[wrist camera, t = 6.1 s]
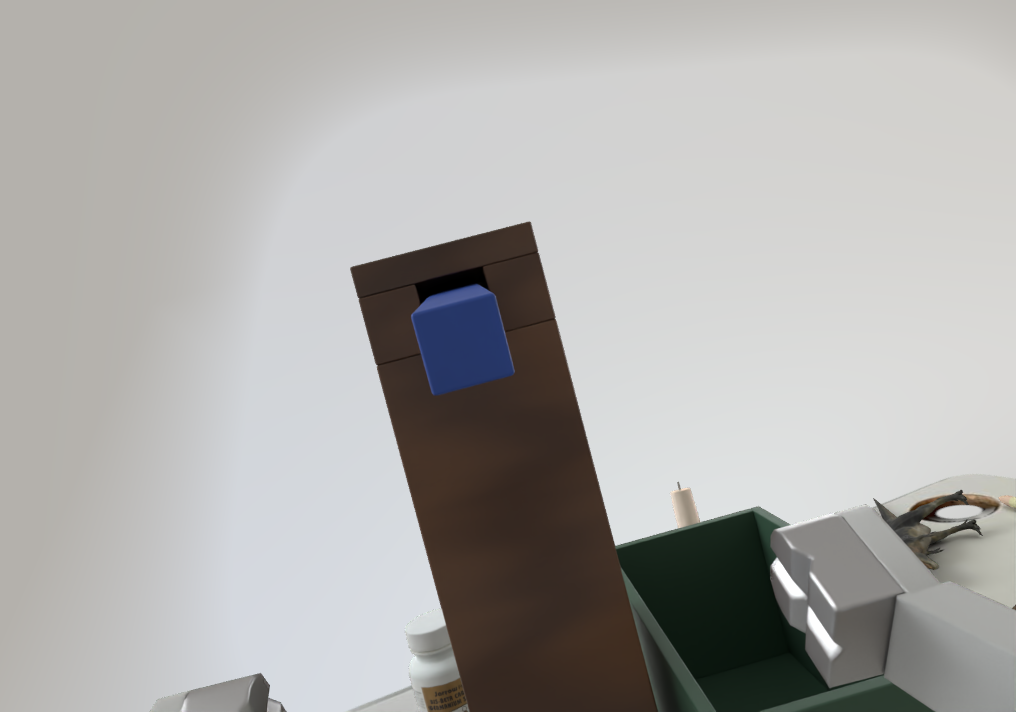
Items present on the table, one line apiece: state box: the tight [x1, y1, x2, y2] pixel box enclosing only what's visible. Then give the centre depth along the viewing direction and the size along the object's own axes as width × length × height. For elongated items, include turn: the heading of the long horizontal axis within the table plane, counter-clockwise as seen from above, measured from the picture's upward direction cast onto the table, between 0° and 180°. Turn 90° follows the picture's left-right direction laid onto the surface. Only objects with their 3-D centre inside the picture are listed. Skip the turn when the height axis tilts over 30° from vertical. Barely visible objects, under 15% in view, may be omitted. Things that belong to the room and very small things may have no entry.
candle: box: [671, 482, 700, 528], centre depth 51 cm, size 5×5×10 cm
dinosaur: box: [874, 490, 983, 570], centre depth 55 cm, size 4×20×7 cm
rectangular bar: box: [411, 282, 515, 395], centre depth 24 cm, size 2×16×2 cm, turn 3°
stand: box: [350, 222, 658, 712], centre depth 30 cm, size 7×7×28 cm
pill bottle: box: [405, 609, 469, 712], centre depth 44 cm, size 4×4×8 cm
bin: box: [615, 507, 935, 712], centre depth 33 cm, size 10×20×10 cm, turn 3°
